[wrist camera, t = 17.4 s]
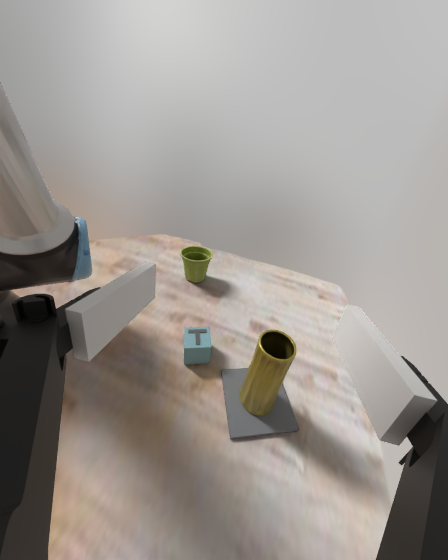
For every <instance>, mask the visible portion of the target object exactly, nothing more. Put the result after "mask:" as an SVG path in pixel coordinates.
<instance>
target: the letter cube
mask: <svg viewBox="0 0 448 560" xmlns="http://www.w3.org/2000/svg"><path fill="white" fill-rule="evenodd" d="M210 356H211V337H210V328H209V327H187V328H185V334H184V364H201V363H210Z"/></svg>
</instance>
